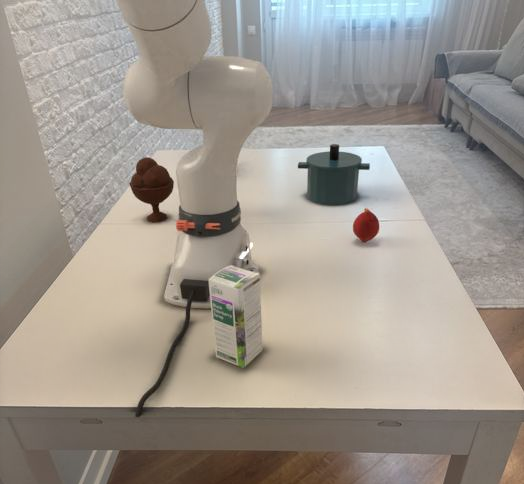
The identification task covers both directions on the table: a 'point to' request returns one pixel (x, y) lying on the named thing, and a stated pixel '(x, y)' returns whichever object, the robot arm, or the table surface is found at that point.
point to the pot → (332, 184)
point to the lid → (334, 159)
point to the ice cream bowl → (152, 186)
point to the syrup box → (236, 314)
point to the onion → (366, 226)
